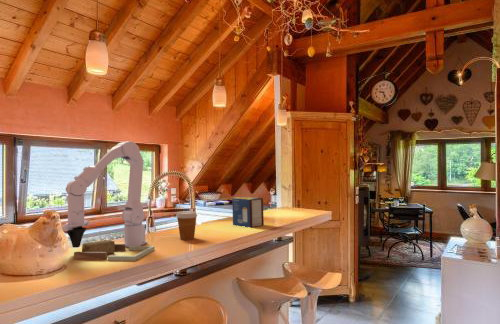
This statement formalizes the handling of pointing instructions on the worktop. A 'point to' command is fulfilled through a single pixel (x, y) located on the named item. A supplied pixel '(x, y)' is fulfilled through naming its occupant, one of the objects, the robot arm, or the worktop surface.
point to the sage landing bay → (133, 258)
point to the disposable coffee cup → (186, 224)
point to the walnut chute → (96, 254)
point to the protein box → (248, 211)
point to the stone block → (99, 246)
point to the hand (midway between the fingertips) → (76, 247)
